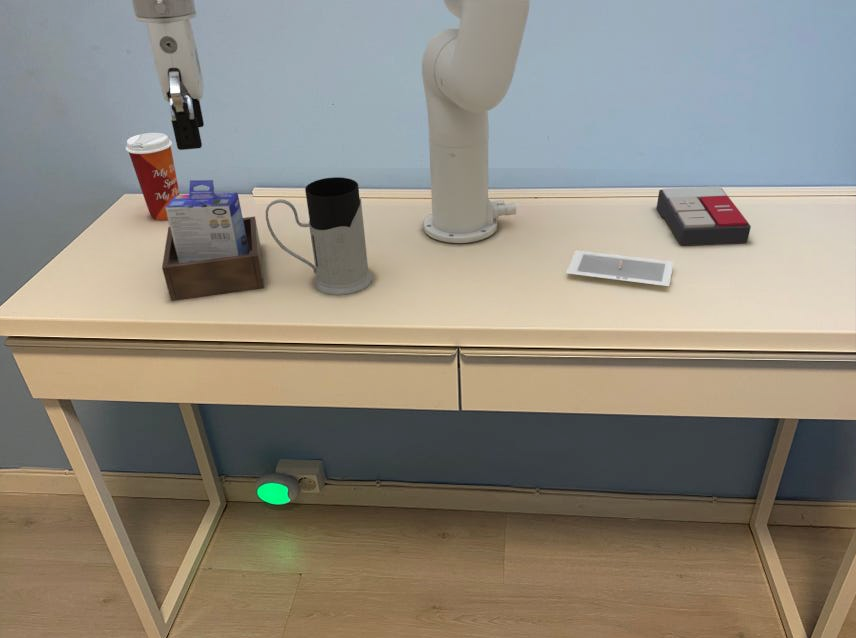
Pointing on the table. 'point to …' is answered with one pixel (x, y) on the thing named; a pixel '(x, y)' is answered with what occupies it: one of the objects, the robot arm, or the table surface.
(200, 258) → the ink cartridge box
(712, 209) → the calculator
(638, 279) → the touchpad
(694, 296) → the table surface
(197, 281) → the desk bin
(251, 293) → the table surface
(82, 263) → the table surface
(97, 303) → the table surface
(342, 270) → the glass holder
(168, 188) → the paper cup
